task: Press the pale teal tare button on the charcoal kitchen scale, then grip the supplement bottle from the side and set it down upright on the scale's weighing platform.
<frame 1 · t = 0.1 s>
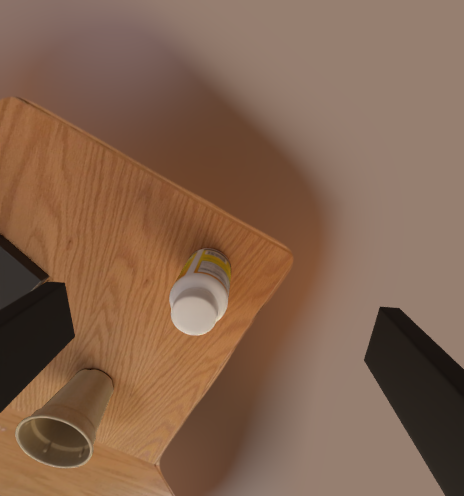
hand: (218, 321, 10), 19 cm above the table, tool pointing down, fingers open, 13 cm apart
flower pot: (95, 382, 38), on the table
supplement bottle: (209, 267, 31), on the table
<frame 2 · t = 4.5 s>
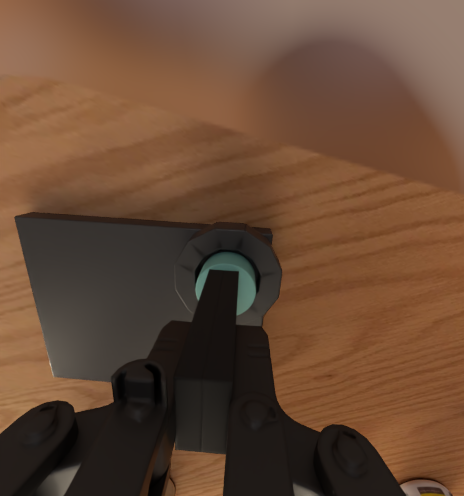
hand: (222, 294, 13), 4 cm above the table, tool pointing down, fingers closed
flower pot: (146, 482, 26), on the table
supplement bottle: (416, 491, 24), on the table
tare button: (226, 283, 14), point 3 cm above the table, slide at 0.0 cm, touching gripper
scale: (154, 304, 18), on the table
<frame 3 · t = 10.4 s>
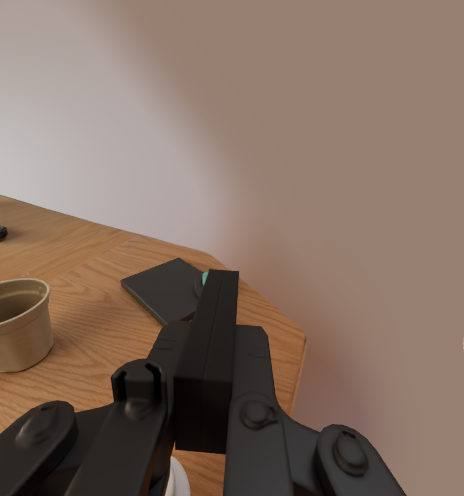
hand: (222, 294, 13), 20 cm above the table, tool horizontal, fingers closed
flower pot: (25, 353, 32), on the table
tare button: (211, 279, 43), point 3 cm above the table, slide at 0.1 cm
scale: (175, 291, 45), on the table
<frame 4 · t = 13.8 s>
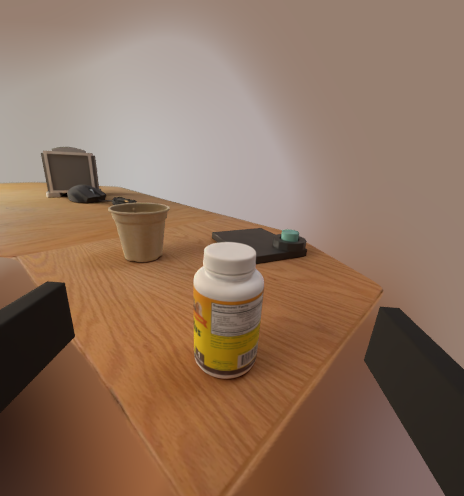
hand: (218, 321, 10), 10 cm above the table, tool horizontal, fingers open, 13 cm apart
flower pot: (143, 257, 43), on the table
supplement bottle: (224, 358, 22), on the table
tare button: (289, 236, 47), point 3 cm above the table, slide at 0.1 cm
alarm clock: (76, 195, 102), on the table
computer mouse: (101, 203, 87), on the table
scale: (255, 246, 51), on the table
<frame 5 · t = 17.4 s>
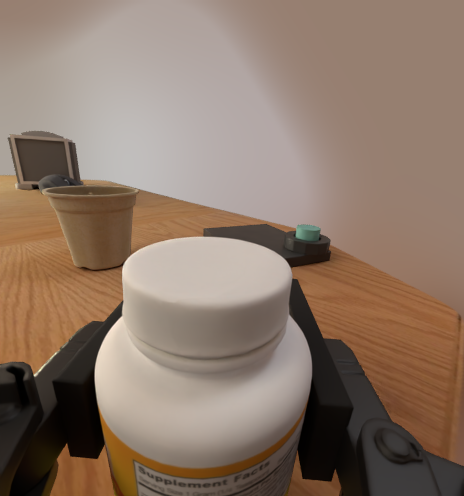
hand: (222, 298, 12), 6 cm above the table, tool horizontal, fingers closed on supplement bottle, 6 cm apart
flower pot: (103, 261, 31), on the table
tare button: (307, 233, 35), point 3 cm above the table, slide at 0.1 cm
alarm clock: (53, 187, 89), on the table
computer mouse: (77, 196, 74), on the table
scale: (260, 247, 39), on the table
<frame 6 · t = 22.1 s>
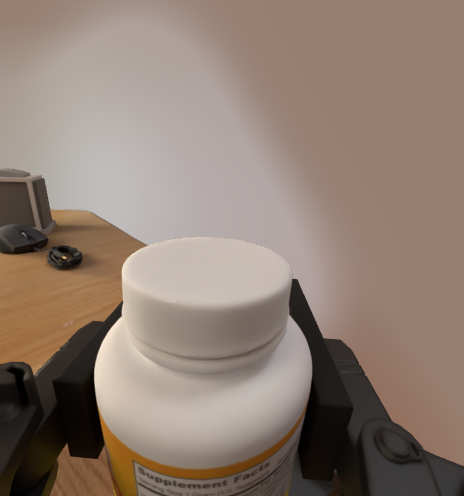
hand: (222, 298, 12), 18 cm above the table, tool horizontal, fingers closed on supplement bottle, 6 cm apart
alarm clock: (17, 231, 76), on the table
computer mouse: (37, 253, 61), on the table
scale: (255, 417, 25), on the table
when the fingers open (7 cm above the table, at t = 27.1 s): supplement bottle stays where it is, resting on scale.
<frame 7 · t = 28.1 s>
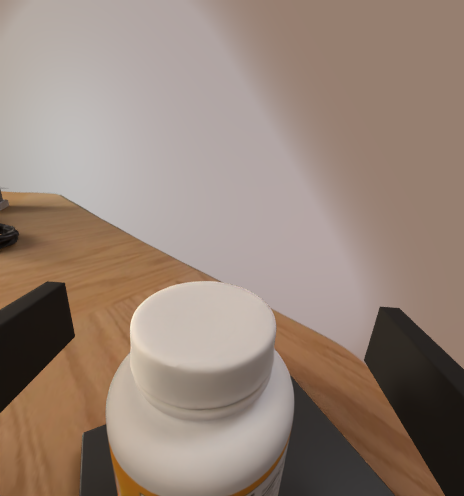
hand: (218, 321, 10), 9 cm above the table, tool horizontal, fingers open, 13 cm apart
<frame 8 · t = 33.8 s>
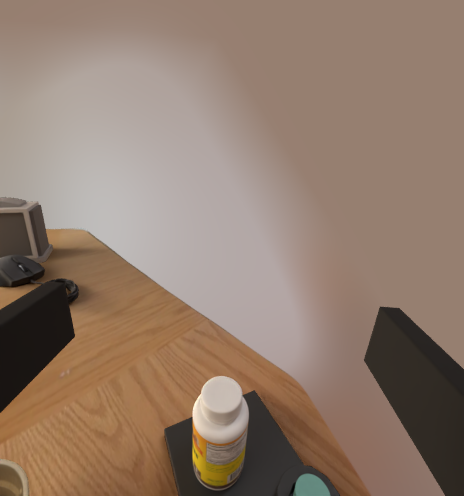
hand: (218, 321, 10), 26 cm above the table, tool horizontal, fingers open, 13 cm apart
supplement bottle: (217, 463, 27), point 1 cm above the table, touching scale
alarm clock: (14, 258, 77), on the table
computer mouse: (34, 286, 62), on the table
scale: (241, 480, 27), on the table
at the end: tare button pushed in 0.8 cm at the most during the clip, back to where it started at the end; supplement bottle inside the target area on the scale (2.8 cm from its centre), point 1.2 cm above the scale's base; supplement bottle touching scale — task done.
